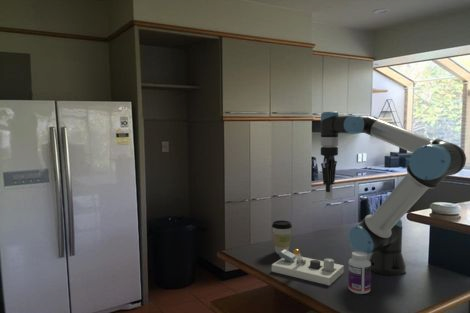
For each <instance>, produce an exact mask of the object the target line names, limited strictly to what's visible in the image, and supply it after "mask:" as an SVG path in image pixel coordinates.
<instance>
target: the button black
mask: <svg viewBox="0 0 470 313" xmlns="http://www.w3.org/2000/svg"><path fill="white" fill-rule="evenodd" d="M318 260H319V259H315V260H311V261H310V268H312V269H317V270H319V269H320V261H321V260H320V261H318Z"/></svg>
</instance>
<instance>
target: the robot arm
mask: <svg viewBox="0 0 470 313" xmlns="http://www.w3.org/2000/svg"><path fill="white" fill-rule="evenodd" d="M320 115H321V116H320V139H319V141H320V146H321V147H320V156H323V161H322V162H321V164H320V165H321V173H322V182H323V183H322V184H323V185H325V191H324V192H325V195H324V196H325V197H324V198H325V199H326V200H332V199H333V185H335V183H336V182H335V181H336V180H335V178H336V170H337V164H338V162H337V160H336V159H335V157H336V156H338V155H339V147H338V146H339V134H350V135H355V134H366V135H369V136H371V137H374V138H376V139H379V140H381V141H383V142H386V143H387V144H390V145H393V146H395V147H398V148H400V149H402V150H405V151H407V152H409V153H412V154H411V155H410V157H409V164H408V165H407V167H406V172H407V174H406V175H405V176H404V177H403V178H402V180H400V181H399V183H398V184H397V185H396V186H395V187H394V189H393V190H392V191H391V192H390V193H389V195H388V196H387V197H386V198H385V199H384V201H383V202H382V203H381V204H380V205H379V207H378V208H377V209H376V210H375V211H374V212H373V214H367V215H365V217H364V218H363V220H362V221H361V222H360V223H359V224H358V225H357V224H356V225H354V226H352V227H351V228H350V229H349V231H348V239H349V240H348V241H349V244H350V246H351V247H352V249H353V250H354V252H355V251H361V252H365V253H367V255H368V254H370V255H369V257H368V258H369V259H368V260H369V261H370V262H371V272H374V273H377V274H380V275H385V276H400V275H404V274H405V273H406V266H407V265H406V262H405V260H404V257H403V253H402V247H403V241H402V240H403V221H402V218H403V217H404V216H405V215H406V214H407V213H408V211H410V209H411V208H412V207H413V206H414V205H415V204H416V203H417V201H418V200H420V198H421V197H422V196H423V195H424V194H425V193H426V192H427V191H428V190H429V189H435V188H436V187H438V185H439V184H440V183H441V182H442V181H443V180H444V179H446V177H449V176H454V175H457V174H458V173H460V172H461V171H462V170H463V169H464V168H465V166H466V164H467V163H466V162H467V155H466V153H465V151H464V150H463V148H461V147H460V146H459V145H458V144H455V143H453V142H448V141H446V140H443V139H440V138H436V139H431V138H429V137H427V136H424V135H421V134H420V133H419V134H418V133H416V132H413V131H410V130H407V129H405V128H403V127H399V126H396V125H394V124H391V123H389V122H386V121H384V120H381V119H379V118H378V117H377V116H375V115H370V114H369V115H356V114H355V115H354V114H353V115H339V112H338V111H323V112H321V114H320Z"/></svg>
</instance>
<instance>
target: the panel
mask: <svg viewBox="0 0 470 313" xmlns="http://www.w3.org/2000/svg"><path fill="white" fill-rule="evenodd" d="M301 257H302V259H303V261H302V264H299V263H298V260H297V258H296V259H295V260H293V261H292V262H289V261H288V260H286V259H284V258H282V257H281V258H280V259H279V260H277V261H275V262H273V263H272V264H271V272H273V273H277V274H279V275H280V274H281V275H285V276H289V277H294V278H298V279H301V280H305V281H309V282H313V283H317V284H322V285H326V286H331V285H332V284H333V283H334V282H335V281H336V280H337V279H338V278H340V276H341V275H343V274H344V271H345V267H344V265H343V264H338V263H334V271H332V272H328V271H324V260H319V259H317V260H318V261H320V269H319V270H317V269H312V268H310V261H311V260H316V259H314V258H310V257H304V256H301Z"/></svg>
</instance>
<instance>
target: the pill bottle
mask: <svg viewBox="0 0 470 313" xmlns="http://www.w3.org/2000/svg"><path fill="white" fill-rule="evenodd" d="M371 275H372V270H371V262H370V261H369V259H368V254H367V253H365V252H361V251H355V250H354V251H352V252H351V258H350V259H348V276H347V278H348V279H347V280H348V282H347V283H348V284H347V285H348V286H347V288H348V290H350V291H351V292H352V293H354V294H356V295H357V294H358V295H363V294H368V293H370V292H371V289H372V287H371V286H372V285H371V283H372V282H371V280H372V278H371V277H372V276H371Z"/></svg>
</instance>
